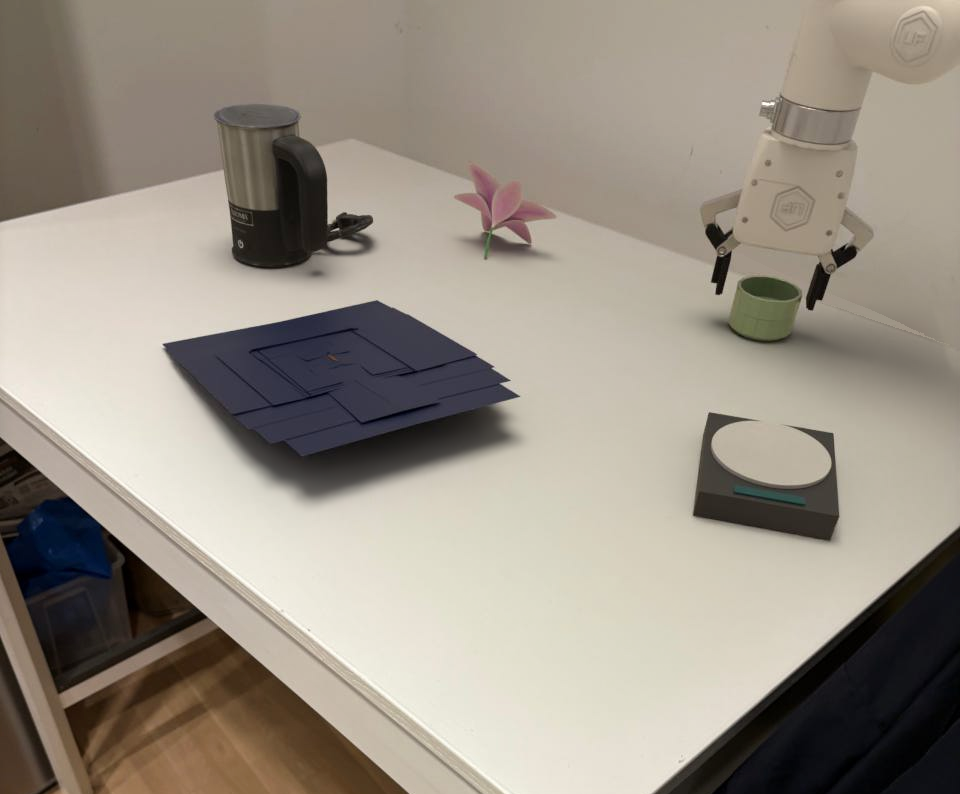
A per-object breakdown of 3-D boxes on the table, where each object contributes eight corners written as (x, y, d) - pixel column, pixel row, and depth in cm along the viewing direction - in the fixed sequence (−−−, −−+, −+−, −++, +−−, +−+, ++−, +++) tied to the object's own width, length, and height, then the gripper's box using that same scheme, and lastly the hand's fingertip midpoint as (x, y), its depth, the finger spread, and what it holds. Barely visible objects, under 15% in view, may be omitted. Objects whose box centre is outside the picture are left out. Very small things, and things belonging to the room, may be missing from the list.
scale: (825, 456, 84) (835, 428, 82) (830, 540, 74) (841, 511, 72) (702, 435, 85) (709, 407, 83) (692, 515, 76) (700, 486, 74)
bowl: (789, 321, 104) (801, 280, 101) (789, 348, 99) (802, 306, 96) (728, 312, 105) (738, 271, 102) (725, 337, 100) (736, 296, 97)
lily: (559, 272, 113) (574, 187, 110) (487, 249, 105) (502, 157, 103) (494, 271, 121) (507, 192, 119) (423, 249, 113) (435, 164, 111)
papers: (283, 494, 73) (277, 451, 70) (164, 371, 93) (156, 335, 90) (538, 421, 83) (539, 381, 81) (381, 324, 103) (378, 291, 101)
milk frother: (215, 258, 108) (195, 116, 97) (286, 216, 118) (275, 84, 108) (323, 284, 104) (314, 139, 94) (386, 238, 115) (385, 104, 105)
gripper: (720, 119, 86) (680, 298, 98) (912, 146, 84) (847, 326, 96) (724, 98, 92) (686, 271, 103) (904, 124, 89) (844, 297, 101)
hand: (763, 297), depth 100 cm, fingers open, 9 cm apart
